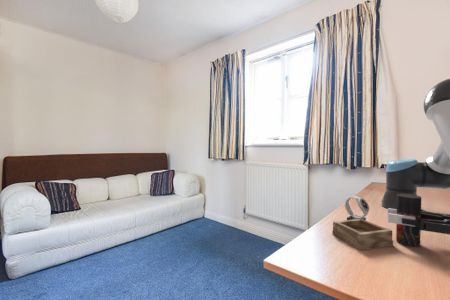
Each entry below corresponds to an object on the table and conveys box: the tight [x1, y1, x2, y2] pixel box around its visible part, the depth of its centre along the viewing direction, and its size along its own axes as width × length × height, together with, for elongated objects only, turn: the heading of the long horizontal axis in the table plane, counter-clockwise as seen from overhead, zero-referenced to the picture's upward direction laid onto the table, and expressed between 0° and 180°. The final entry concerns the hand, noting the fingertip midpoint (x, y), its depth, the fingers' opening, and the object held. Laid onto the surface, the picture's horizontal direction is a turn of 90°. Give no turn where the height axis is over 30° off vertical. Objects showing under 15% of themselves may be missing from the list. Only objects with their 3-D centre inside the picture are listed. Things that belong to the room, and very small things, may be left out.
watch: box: [344, 195, 370, 221], centre depth 86 cm, size 6×8×11 cm
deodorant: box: [395, 194, 422, 248], centre depth 71 cm, size 6×6×15 cm
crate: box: [331, 219, 394, 251], centre depth 74 cm, size 12×12×4 cm
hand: (388, 214), depth 74 cm, fingers closed on deodorant, 6 cm apart
